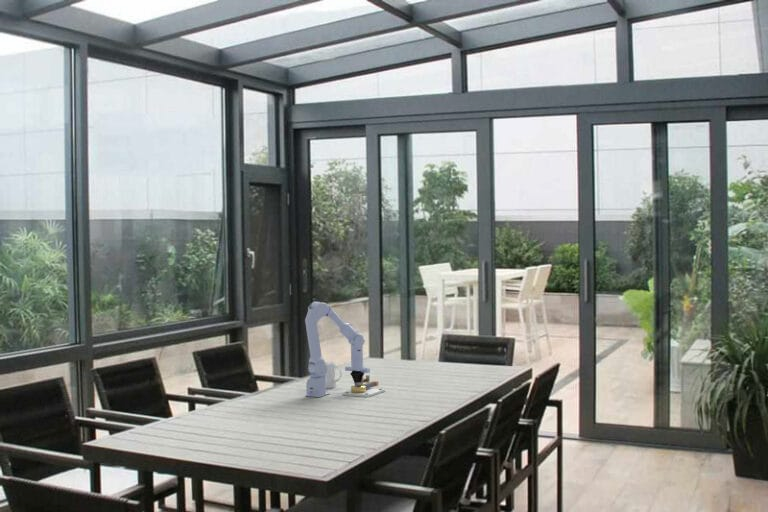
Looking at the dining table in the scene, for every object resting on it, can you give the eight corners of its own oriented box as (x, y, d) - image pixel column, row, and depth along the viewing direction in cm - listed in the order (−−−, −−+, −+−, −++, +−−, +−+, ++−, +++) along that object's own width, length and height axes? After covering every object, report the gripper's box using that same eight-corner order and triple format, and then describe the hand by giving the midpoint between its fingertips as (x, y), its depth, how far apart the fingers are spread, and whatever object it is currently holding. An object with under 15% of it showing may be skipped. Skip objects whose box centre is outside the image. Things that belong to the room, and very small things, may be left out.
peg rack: (363, 388, 436) (363, 378, 436) (355, 387, 438) (354, 377, 438) (374, 385, 444) (374, 375, 444) (365, 384, 447) (365, 374, 447)
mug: (345, 386, 443) (344, 362, 443) (336, 389, 436) (336, 364, 435) (324, 384, 448) (324, 361, 448) (316, 387, 441) (315, 363, 441)
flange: (367, 397, 411) (367, 386, 411) (342, 395, 418) (342, 384, 418) (385, 391, 425) (384, 380, 425) (360, 389, 432) (360, 379, 432)
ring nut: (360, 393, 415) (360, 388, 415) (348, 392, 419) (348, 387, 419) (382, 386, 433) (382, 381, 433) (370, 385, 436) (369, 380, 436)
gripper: (373, 358, 428) (374, 386, 428) (351, 356, 437) (352, 384, 438) (364, 360, 422) (364, 388, 423) (341, 358, 432) (342, 386, 432)
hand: (357, 386), depth 430 cm, fingers closed
